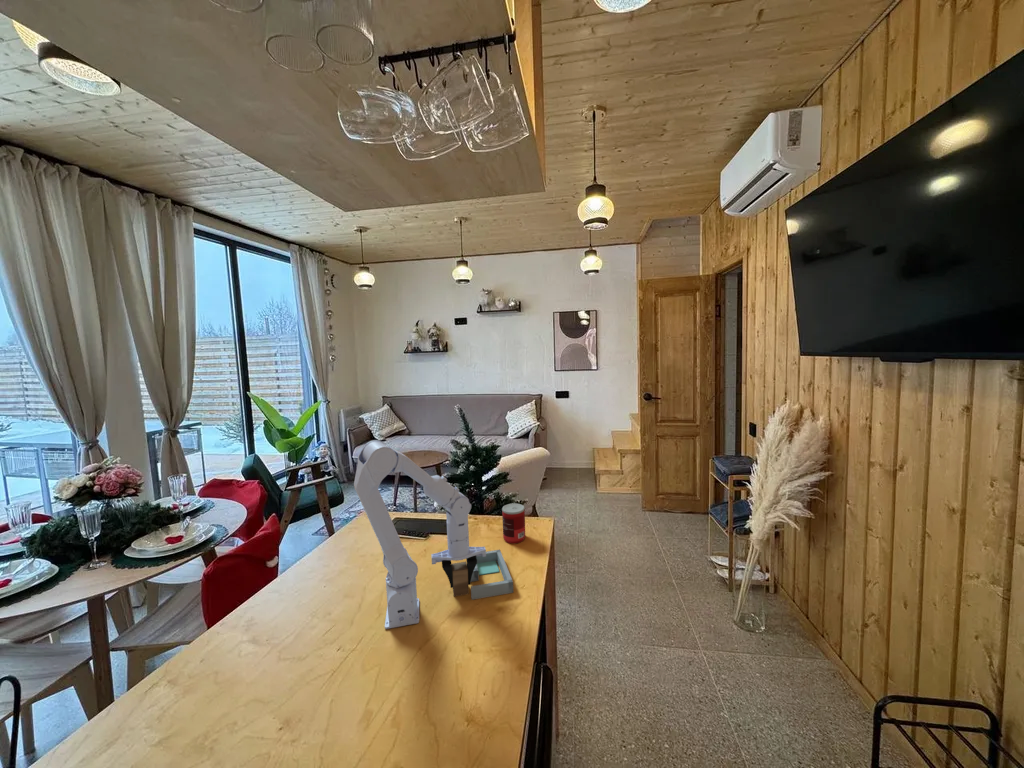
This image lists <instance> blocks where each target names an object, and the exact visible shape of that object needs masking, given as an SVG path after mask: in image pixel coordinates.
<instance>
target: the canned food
mask: <svg viewBox="0 0 1024 768" xmlns="http://www.w3.org/2000/svg"><path fill="white" fill-rule="evenodd" d="M501 511H502V512H501V513H502V537H503V540H504V541H505V542H506V543H508V544H520V543H521V542H523V541H524V540H525V538H526V516H525V514H526V512H525V505H523V504H520V503H515V502H514V503H508V504H505V505H503V506H502V509H501Z"/></svg>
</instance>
